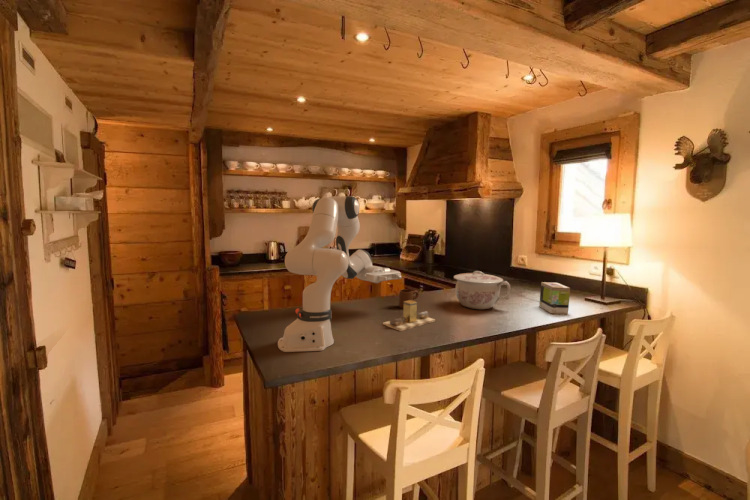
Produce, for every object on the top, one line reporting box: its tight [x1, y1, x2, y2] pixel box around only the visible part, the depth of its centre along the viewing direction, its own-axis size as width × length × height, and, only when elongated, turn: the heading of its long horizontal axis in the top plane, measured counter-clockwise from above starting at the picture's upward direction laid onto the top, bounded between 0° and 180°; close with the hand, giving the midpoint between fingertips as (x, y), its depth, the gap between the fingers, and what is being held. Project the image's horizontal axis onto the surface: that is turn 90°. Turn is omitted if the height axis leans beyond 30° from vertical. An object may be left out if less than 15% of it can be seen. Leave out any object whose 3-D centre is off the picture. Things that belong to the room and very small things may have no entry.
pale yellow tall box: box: [402, 300, 418, 323], centre depth 180 cm, size 4×4×10 cm
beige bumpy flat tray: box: [382, 310, 436, 332], centre depth 181 cm, size 24×12×4 cm, turn 130°
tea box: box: [538, 281, 571, 315], centre depth 208 cm, size 15×10×15 cm
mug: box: [398, 288, 420, 309], centre depth 209 cm, size 12×8×9 cm, turn 114°
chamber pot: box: [453, 270, 512, 311], centre depth 212 cm, size 28×28×21 cm
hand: (393, 278), depth 187 cm, fingers open, 8 cm apart
